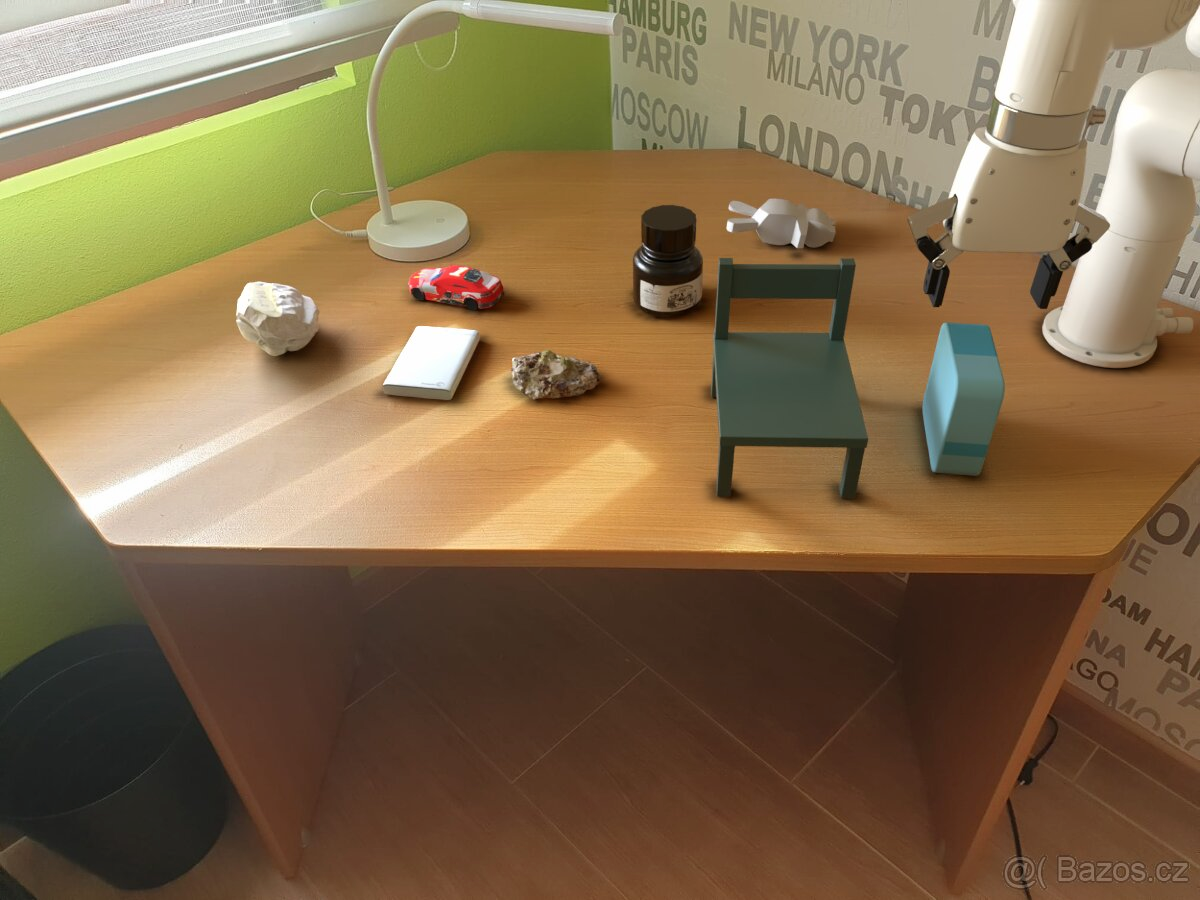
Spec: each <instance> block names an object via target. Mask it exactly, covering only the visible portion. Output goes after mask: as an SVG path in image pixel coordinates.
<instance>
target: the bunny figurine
mask: <svg viewBox="0 0 1200 900" xmlns="http://www.w3.org/2000/svg"><path fill="white" fill-rule="evenodd" d="M728 210H729V211H730V212H733V213H737V214H740V215H744V216H746V217H747V216H748V217H747V218H746V217H732V218H728V219H727V222H726V230H727V232H730V233H731V234H738V233H744V232H749V231H750V232H751V231H755V232H756V233H757V236H758V237H759V239H760V240H761V242H762V243H764V244H769V245H774V246H785V245H788V244H792V245H793V246H794V247H795V248H796V249H804V247H805V245H806V246H807V247H809V248H819V247H822V246H824V245H825V244H827V243H828V242H831V243H833V242H834V239H835V236H836V220H835V219H834V218H830V216H829V215H828V213H827V212H826V211H824V210H823V209H821V208H817V207H812V208H810V209H809V208H808V207H807V204H804V203H801V202H800V203H799V204H797V205H796V204H795V203H793V202H792V201H791V200H786V199H783V198H769V199H767V200H766V201H765V202H764V203H763V204H762V205H761V206H760V207H759V208H756V207H754V206H753V205H749V204H747V203H744V202H742V201H739V200H732V201H730V202H729V203H728Z"/></svg>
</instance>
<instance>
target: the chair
mask: <svg viewBox="0 0 1200 900" xmlns="http://www.w3.org/2000/svg"><path fill="white" fill-rule="evenodd" d="M856 267H857V264H856V261H855V258H853V257H852V258H850V257H849V258H847V257H845V258H844V257H843V258H840V261H839V264H826V263H825V264H817V263H815V264H814V263H813V264H809V263H807V264H805V263H804V264H803V263H801V264H799V263H798V264H797V263H796V264H795V263H793V264H790V263H789V264H788V263H779V264H778V263H734V259H733V257H719V258H718V267H717V284H716V286H717V287H716V301H715V319H714V331H713V334H712V344H713V345H712V347H713V348H712V349H713V351H712V365H711V367H712V368H711V381H710V382H711V384H710V385H711V386H710V397H711V398H716V412H717V426H718V427H717V428H718V458H717V469H716V470H717V471H716V484H715V489H716V497H723V498H724V497H725V498H727V497H731V496H732V485H733V473H734V462H735V461H734V460H735V450H736V447H772V448H773V447H774V448H775V447H777V448H778V447H779V448H831V449H832V448H833V449H835V448H836V449H837V448H838V449H839V448H840V449H841V448H842V449H846V452H845V456H844V461H843V468H842V472H841V478H840V483H839V488H838V490H839V495H840V499H842V500H843V499H844V500H845V499H847V500H849V499H850V500H855V499H856V496H857V489H858V485H859V480H860V475H861V469H862V465H863V461H864V455H865V451H866V449H867V447H868V442H869V435H868V433H867V428H866V423H865V419H864V415H863V411H862V408H861V403H860V400H859V395H858V390H857V388H856V384H855V383H856V382H855V378H854V374H853V371H852V366H851V363H850V358H849V354H848V351H847V346H846V342H845V339H844V338H845V333H846V327H847V322H848V315H849V309H850V303H851V297H852V291H853V285H854V280H855V279H854V278H855V274H856V273H855V272H856ZM735 299H737V300H739V299H741V300H742V299H743V300H744V299H746V300H747V299H748V300H749V299H750V300H752V299H753V300H755V299H756V300H758V299H759V300H761V299H762V300H833V303H832V310H831V316H830V317H831V318H830V323H829V331H828V332H773V331H772V332H769V331H768V332H767V331H765V332H764V331H762V332H760V331H759V332H758V331H757V332H756V331H754V332H753V331H752V332H751V331H729V329H730V316H731V302H732V300H735Z"/></svg>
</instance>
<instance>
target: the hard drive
mask: <svg viewBox="0 0 1200 900" xmlns="http://www.w3.org/2000/svg"><path fill="white" fill-rule="evenodd" d="M480 335H481V334H480V331H479V330H477V329H467V328H455V327H454V328H453V327H441V326H428V325H427V326H425V325H418V326H416V327H415V329H414V330H413V332H412V334H411V336H410V337H409V339H408V341H407V342H406V344H405V346H404V348H403V349H402V351H401V353H400V354H399V356H398V358H397V360H396V361H395V363H394V365H393V367H392V368H391V370H390V372H389V373H388V375H387V377H386V378H385V380H384V382H383V384H382V389H383V393H384V394H386V395H390V396H401V397H411V398H420V399H421V398H422V399H433V400H443V401H450V400H452V399H453V397H454V394H455V392H456V390H457V388H458V387H459V384H460V382H461V380H462V378H463V376H464V374H465V372H466V369H467V368H468V364H469V363H470V361H471V359H472V357H473V355H474V352H475V351H476V348H477V346H478V344H479V342H480V340H481V336H480Z"/></svg>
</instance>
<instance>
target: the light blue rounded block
mask: <svg viewBox="0 0 1200 900" xmlns="http://www.w3.org/2000/svg"><path fill="white" fill-rule="evenodd" d="M998 356H999V355H998V352H997V348H996V345H995V341H994V337H993V334H992V330H991V327H990V326H989V325H988V324H978V323H977V324H976V323H963V322H962V323H959V322H943V323H942V325H941V327H940V328H939V333H938V337H937V342H936V347H935V350H934V354H933V358H932V363H931V366H930V371H929V374H928V379H927V383H926V387H925V391H924V396H923V401H922V419H923V425H924V431H925V437H926V445H927V450H928V456H929V463H930V470H931V471H932V472H933V473H935V474H947V475H958V476H970V477H971V476H973V477H977V476H979V475H980V474H981V472H982V470H983V466H984V463H985V460H986V457H987V454H988V450H989V446H990V444H991V440H992V437H993V434H994V431H995V427H996V424H997V421H998V418H999V414H1000V412H1001V408H1002V406H1003V402H1004V397H1005V392H1006V391H1005V390H1006V384H1005V378H1004V375H1003V371H1002V367H1001V363H1000V359H999V357H998Z"/></svg>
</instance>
